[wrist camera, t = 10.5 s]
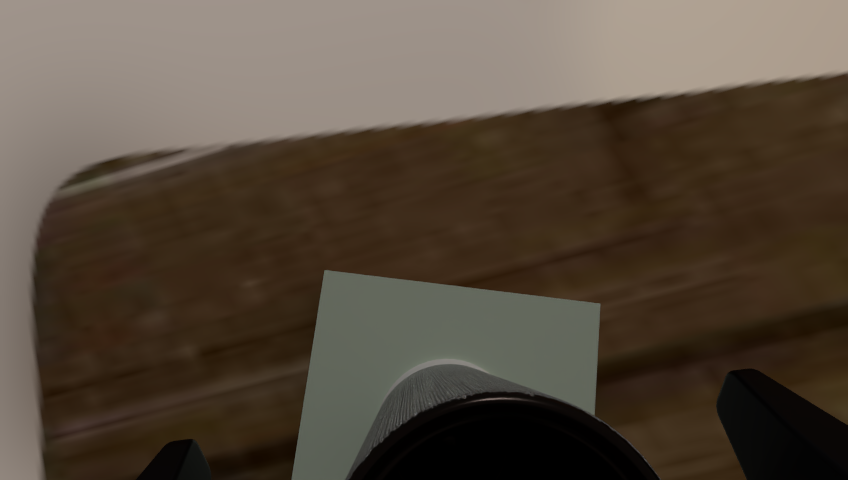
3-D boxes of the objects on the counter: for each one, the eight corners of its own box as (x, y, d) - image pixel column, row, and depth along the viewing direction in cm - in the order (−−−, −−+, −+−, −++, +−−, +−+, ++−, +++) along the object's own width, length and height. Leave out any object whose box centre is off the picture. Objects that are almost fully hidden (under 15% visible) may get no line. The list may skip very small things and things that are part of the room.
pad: (577, 602, 16) (584, 614, 15) (281, 566, 16) (275, 576, 15) (594, 305, 18) (601, 303, 17) (327, 272, 18) (324, 269, 17)
